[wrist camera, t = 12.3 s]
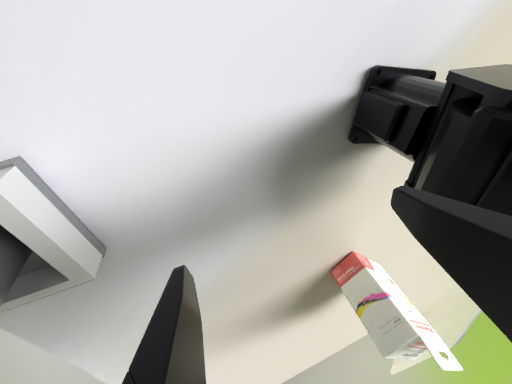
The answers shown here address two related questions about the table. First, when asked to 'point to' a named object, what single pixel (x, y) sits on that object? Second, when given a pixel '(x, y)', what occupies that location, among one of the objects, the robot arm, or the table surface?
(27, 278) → the white open box
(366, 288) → the ink cartridge box
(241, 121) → the table surface
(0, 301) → the gray cylindrical canister
